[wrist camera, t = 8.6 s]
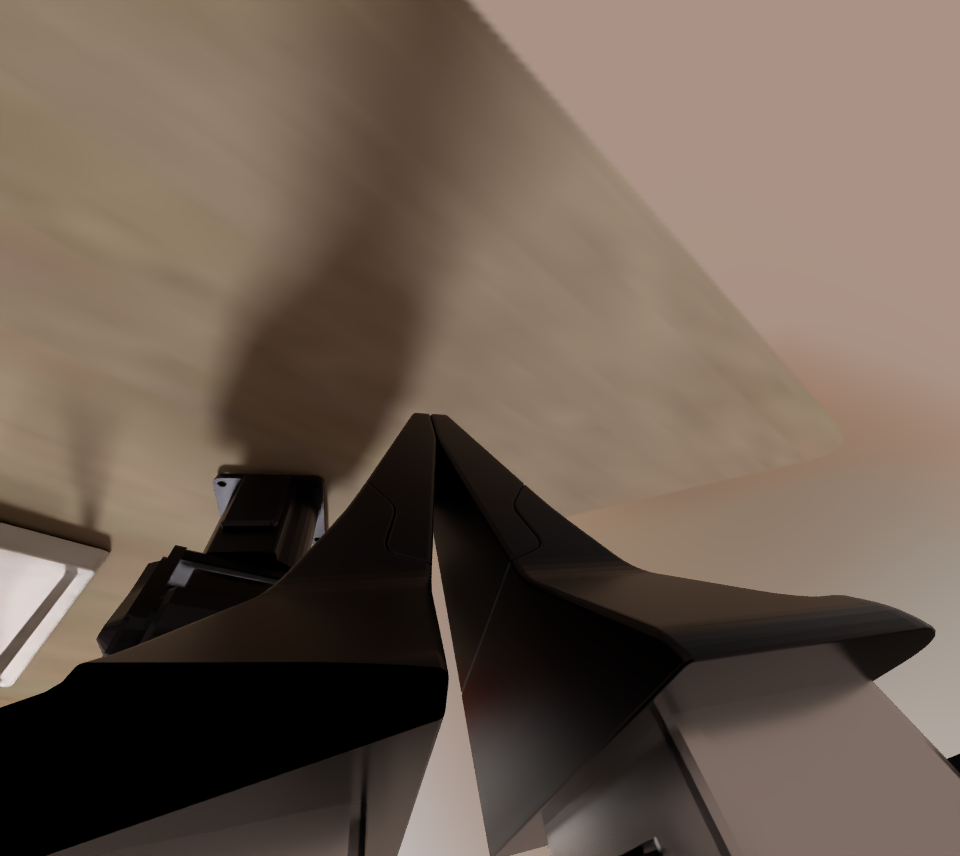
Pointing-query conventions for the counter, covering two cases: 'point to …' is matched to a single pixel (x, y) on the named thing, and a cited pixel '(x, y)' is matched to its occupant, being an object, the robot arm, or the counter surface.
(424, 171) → the counter surface
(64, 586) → the file sorter
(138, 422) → the counter surface
